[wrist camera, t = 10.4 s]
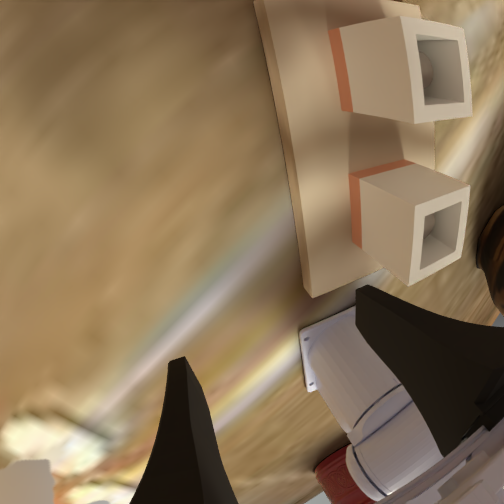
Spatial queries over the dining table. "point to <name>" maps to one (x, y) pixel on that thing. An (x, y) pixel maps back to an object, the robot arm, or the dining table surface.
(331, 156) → the pin board
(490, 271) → the ceramic jug
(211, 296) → the dining table surface
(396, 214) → the seated sleeve
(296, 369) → the dining table surface
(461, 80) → the sleeve
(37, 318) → the dining table surface
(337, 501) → the canister
